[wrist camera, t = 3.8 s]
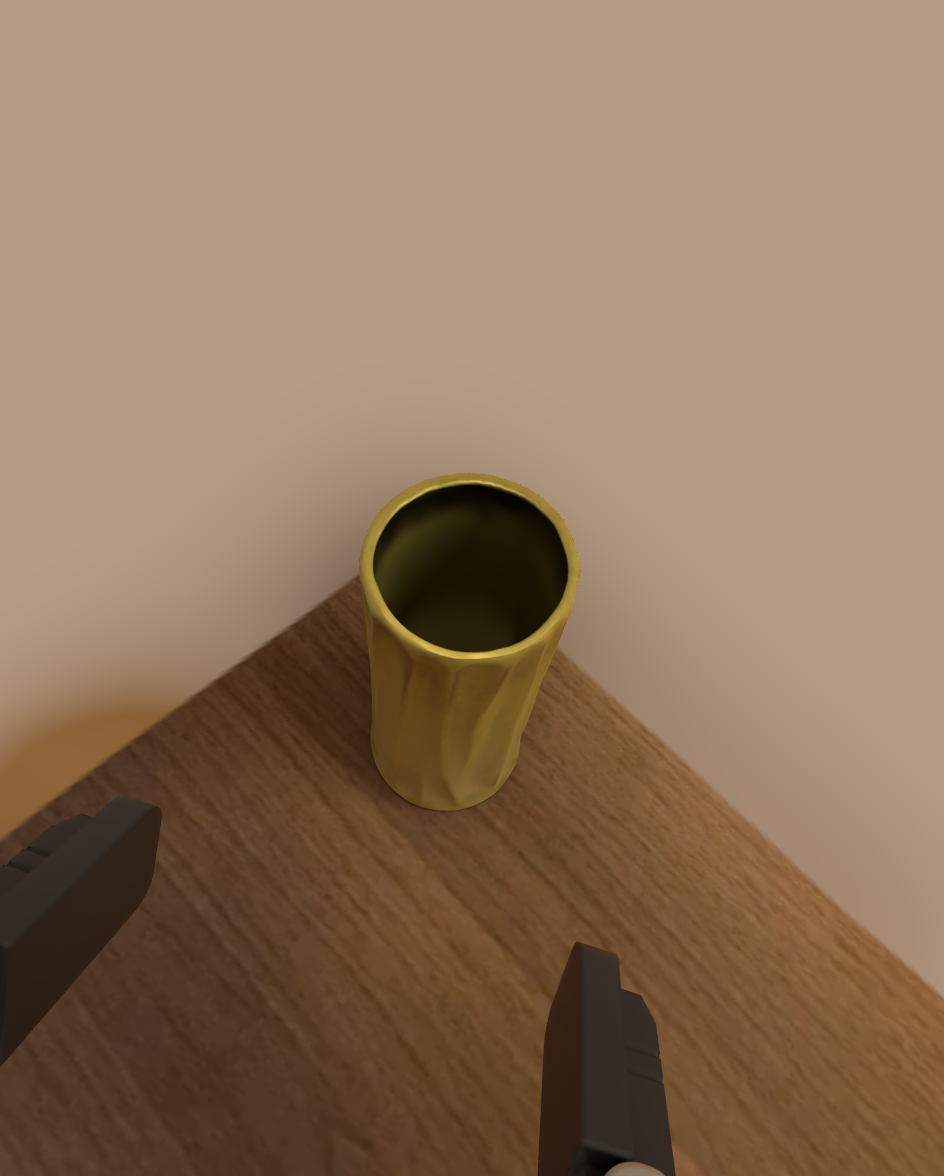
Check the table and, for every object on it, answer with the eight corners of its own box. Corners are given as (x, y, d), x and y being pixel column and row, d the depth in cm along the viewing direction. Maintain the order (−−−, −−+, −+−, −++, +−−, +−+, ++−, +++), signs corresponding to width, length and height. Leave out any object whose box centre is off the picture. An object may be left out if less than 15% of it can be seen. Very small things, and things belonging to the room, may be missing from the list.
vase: (537, 695, 30) (626, 501, 18) (492, 835, 27) (559, 722, 15) (405, 647, 31) (400, 427, 18) (346, 780, 28) (292, 626, 15)
